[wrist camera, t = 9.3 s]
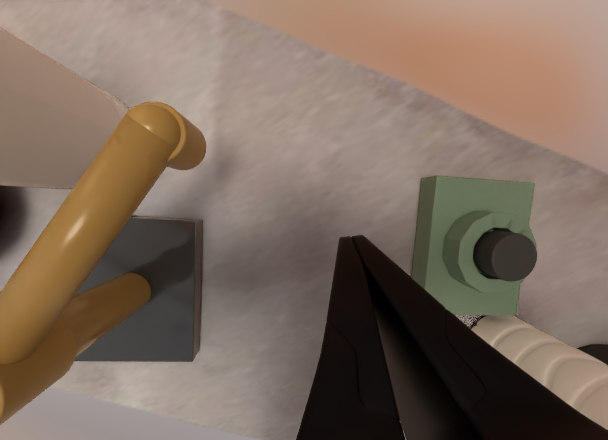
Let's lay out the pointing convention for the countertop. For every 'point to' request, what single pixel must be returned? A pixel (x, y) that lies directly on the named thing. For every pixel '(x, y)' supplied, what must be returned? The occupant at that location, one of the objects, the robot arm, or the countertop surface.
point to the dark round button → (505, 255)
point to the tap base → (169, 291)
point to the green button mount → (467, 241)
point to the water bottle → (551, 364)
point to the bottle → (49, 119)
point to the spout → (83, 246)
